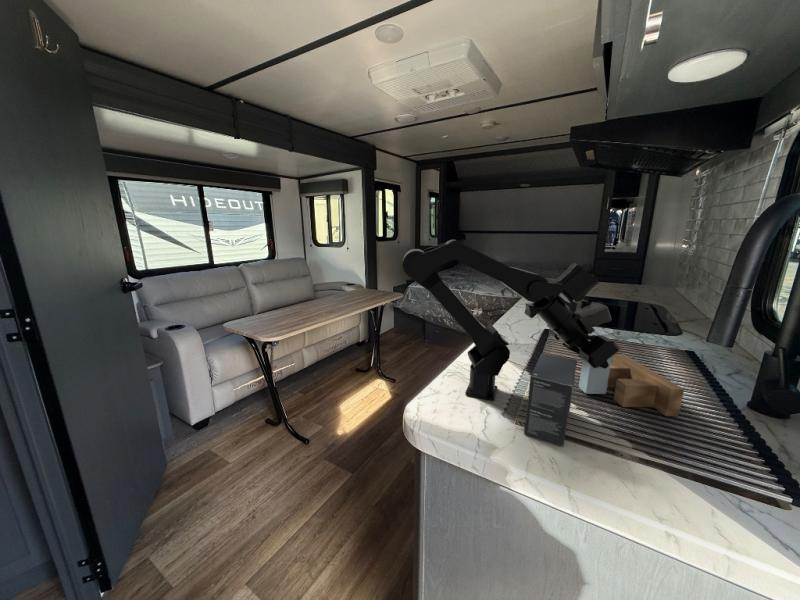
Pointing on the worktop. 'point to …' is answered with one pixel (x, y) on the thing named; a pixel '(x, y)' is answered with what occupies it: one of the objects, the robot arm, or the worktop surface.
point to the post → (594, 378)
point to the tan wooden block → (643, 387)
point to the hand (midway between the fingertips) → (602, 363)
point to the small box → (550, 398)
